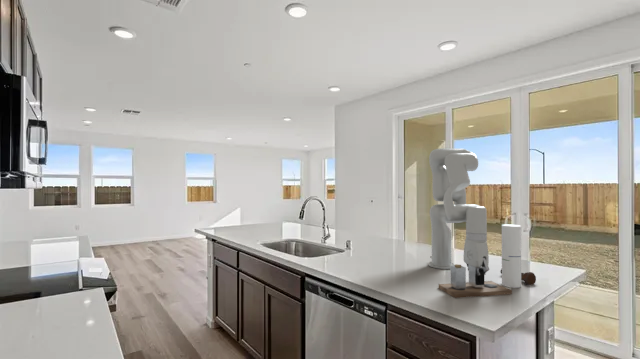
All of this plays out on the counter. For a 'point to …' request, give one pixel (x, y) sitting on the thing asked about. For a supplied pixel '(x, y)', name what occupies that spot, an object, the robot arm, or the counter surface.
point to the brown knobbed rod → (527, 278)
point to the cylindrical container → (511, 255)
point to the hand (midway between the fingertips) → (476, 282)
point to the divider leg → (473, 276)
